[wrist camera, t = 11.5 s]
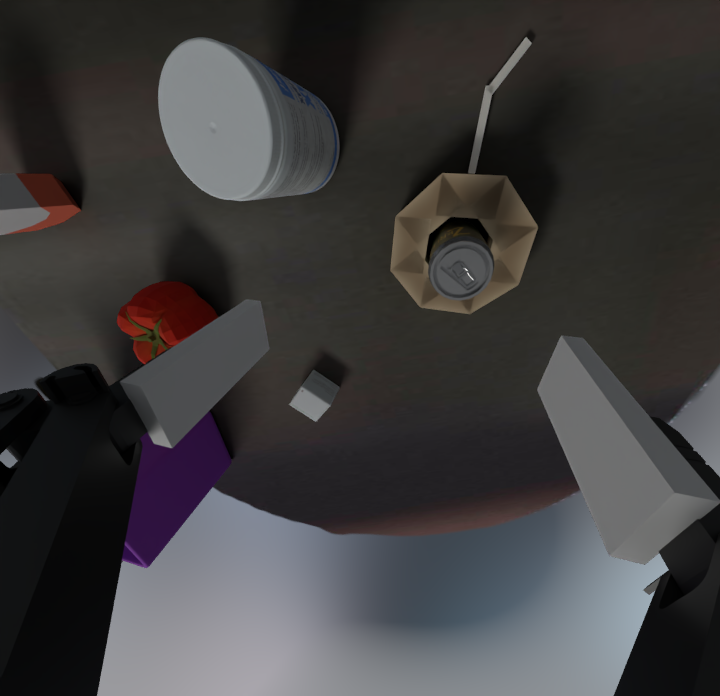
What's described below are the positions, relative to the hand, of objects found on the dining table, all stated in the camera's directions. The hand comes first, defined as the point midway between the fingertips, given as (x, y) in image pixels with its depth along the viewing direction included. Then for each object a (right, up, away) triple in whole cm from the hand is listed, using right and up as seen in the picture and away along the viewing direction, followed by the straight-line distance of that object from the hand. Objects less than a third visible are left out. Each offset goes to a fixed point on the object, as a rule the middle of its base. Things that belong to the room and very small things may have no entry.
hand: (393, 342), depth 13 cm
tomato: (-29, +6, +36) cm, 47 cm away
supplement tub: (-8, +23, +20) cm, 31 cm away
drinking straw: (+11, +22, +14) cm, 28 cm away
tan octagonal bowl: (+10, +12, +20) cm, 26 cm away
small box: (-9, -7, +38) cm, 39 cm away
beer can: (+10, +12, +21) cm, 26 cm away
